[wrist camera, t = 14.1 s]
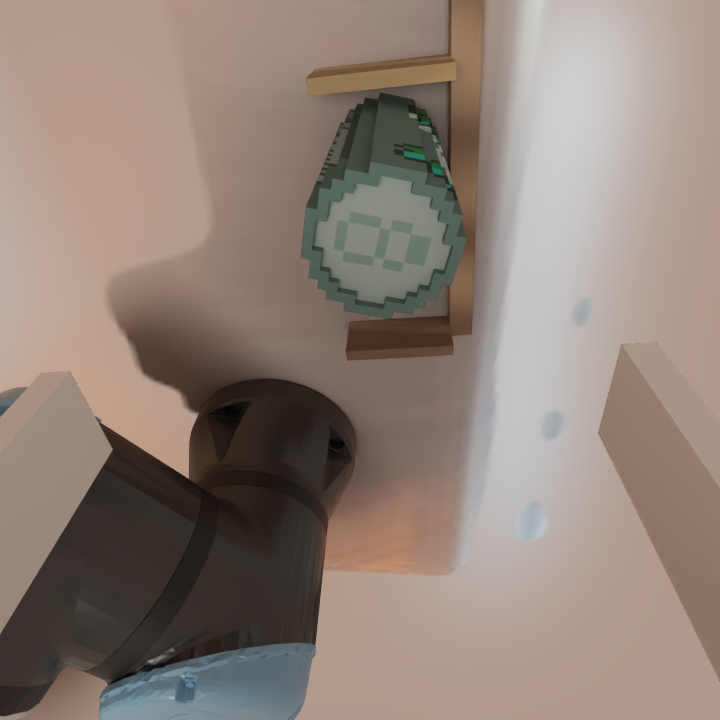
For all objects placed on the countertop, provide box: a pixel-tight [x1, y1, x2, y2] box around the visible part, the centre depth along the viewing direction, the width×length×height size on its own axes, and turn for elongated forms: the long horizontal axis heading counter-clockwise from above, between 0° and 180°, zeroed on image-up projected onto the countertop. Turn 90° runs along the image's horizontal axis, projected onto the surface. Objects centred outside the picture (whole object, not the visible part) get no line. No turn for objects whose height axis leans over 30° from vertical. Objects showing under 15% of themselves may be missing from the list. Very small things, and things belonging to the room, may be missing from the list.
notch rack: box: [306, 0, 484, 361], centre depth 29 cm, size 27×9×4 cm, turn 6°
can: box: [300, 93, 467, 319], centre depth 25 cm, size 6×6×15 cm
